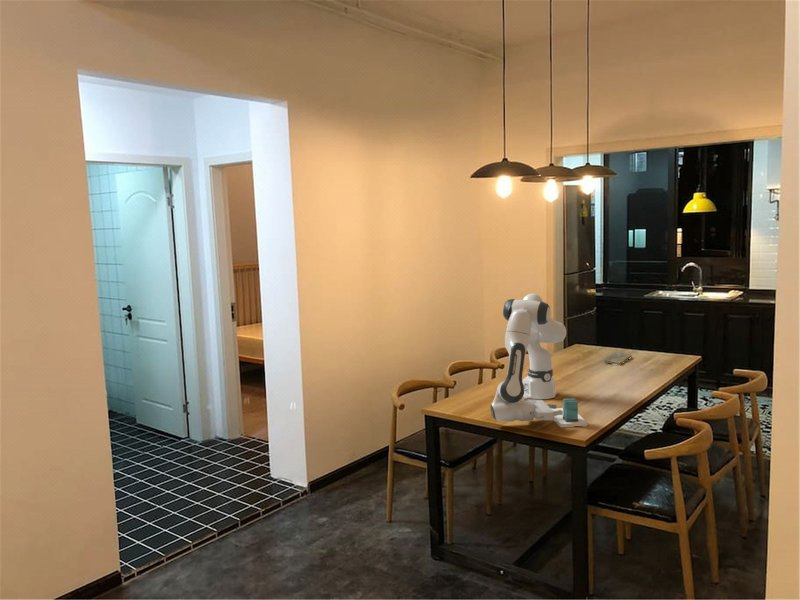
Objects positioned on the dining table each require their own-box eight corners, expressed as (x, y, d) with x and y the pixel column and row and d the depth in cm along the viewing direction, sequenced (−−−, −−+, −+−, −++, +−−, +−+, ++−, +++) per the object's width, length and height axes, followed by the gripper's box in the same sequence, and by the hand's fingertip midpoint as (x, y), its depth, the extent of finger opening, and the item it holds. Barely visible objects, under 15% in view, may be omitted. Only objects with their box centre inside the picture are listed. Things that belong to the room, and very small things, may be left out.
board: (546, 411, 300) (546, 408, 300) (571, 410, 300) (571, 407, 300) (560, 427, 276) (560, 424, 276) (587, 426, 276) (587, 422, 276)
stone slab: (633, 352, 414) (621, 359, 389) (633, 358, 414) (621, 366, 389) (614, 350, 421) (601, 357, 396) (613, 357, 421) (601, 364, 396)
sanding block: (562, 418, 284) (562, 398, 283) (574, 417, 284) (574, 398, 283) (566, 422, 278) (566, 402, 277) (578, 421, 278) (578, 401, 277)
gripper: (533, 410, 269) (565, 408, 270) (522, 397, 290) (553, 396, 290) (533, 424, 270) (566, 423, 270) (523, 411, 290) (553, 409, 291)
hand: (559, 409), depth 280 cm, fingers open, 8 cm apart
